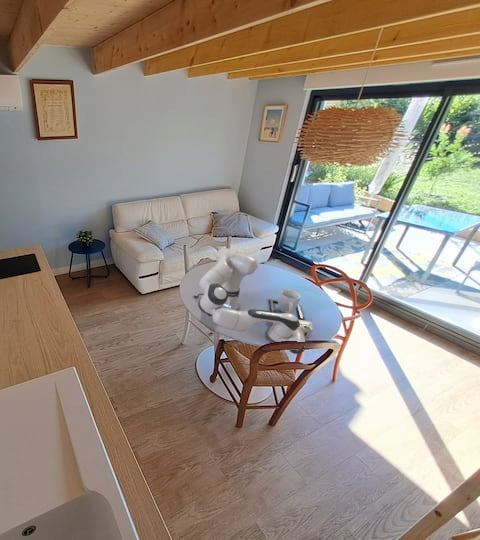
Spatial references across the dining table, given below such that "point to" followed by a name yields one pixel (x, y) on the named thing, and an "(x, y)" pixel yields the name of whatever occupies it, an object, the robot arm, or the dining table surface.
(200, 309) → the robot arm
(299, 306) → the bay rails
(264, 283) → the dining table surface
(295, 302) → the mug
